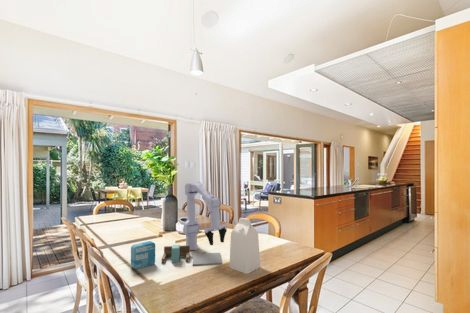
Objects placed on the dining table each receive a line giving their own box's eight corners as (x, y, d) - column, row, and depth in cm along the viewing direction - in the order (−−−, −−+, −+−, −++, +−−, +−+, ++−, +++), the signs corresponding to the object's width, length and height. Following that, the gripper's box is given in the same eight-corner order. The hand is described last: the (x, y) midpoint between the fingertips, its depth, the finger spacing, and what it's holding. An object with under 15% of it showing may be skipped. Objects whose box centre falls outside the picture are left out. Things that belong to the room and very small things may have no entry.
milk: (260, 267, 133) (259, 218, 134) (246, 274, 124) (246, 222, 125) (243, 261, 141) (242, 215, 142) (229, 267, 132) (229, 218, 133)
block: (172, 258, 146) (172, 245, 146) (179, 258, 146) (179, 244, 146) (171, 262, 140) (171, 248, 140) (178, 262, 140) (178, 248, 140)
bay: (164, 256, 149) (164, 246, 149) (189, 255, 151) (189, 245, 151) (161, 263, 139) (161, 252, 139) (188, 261, 141) (188, 251, 141)
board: (193, 255, 151) (193, 253, 151) (219, 253, 153) (219, 252, 153) (192, 265, 135) (192, 264, 135) (221, 264, 137) (221, 262, 137)
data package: (133, 270, 130) (134, 247, 130) (130, 267, 133) (130, 245, 134) (155, 263, 138) (155, 242, 139) (151, 261, 141) (151, 240, 142)
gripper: (208, 221, 135) (210, 247, 133) (229, 217, 144) (231, 241, 142) (201, 220, 140) (203, 245, 138) (221, 217, 149) (223, 240, 147)
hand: (217, 243), depth 140 cm, fingers open, 7 cm apart
